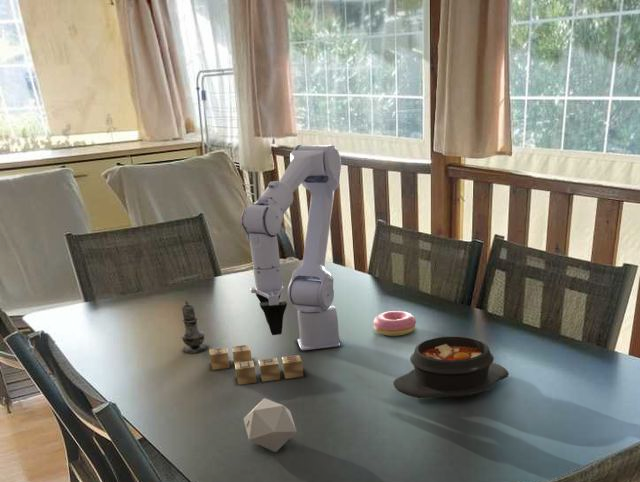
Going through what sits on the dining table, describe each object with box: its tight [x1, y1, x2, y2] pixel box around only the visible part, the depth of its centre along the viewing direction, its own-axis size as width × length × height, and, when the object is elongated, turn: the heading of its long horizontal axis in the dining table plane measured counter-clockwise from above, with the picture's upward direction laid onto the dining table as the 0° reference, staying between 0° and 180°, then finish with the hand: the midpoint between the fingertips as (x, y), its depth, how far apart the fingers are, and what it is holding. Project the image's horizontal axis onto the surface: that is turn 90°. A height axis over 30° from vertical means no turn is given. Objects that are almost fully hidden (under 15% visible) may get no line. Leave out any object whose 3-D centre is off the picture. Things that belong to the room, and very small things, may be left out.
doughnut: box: [372, 310, 417, 337], centre depth 175 cm, size 11×11×4 cm
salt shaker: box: [180, 300, 207, 354], centre depth 168 cm, size 6×6×12 cm
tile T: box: [231, 344, 253, 364], centre depth 160 cm, size 4×4×4 cm
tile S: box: [281, 354, 304, 380], centre depth 153 cm, size 4×4×4 cm
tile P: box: [258, 357, 281, 383], centre depth 152 cm, size 4×4×4 cm
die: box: [243, 397, 297, 453], centre depth 123 cm, size 8×9×10 cm
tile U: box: [234, 360, 258, 386], centre depth 151 cm, size 4×4×4 cm
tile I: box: [208, 346, 231, 371], centre depth 159 cm, size 4×4×4 cm
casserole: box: [392, 335, 510, 399], centre depth 142 cm, size 25×19×8 cm
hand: (274, 328), depth 153 cm, fingers open, 7 cm apart
